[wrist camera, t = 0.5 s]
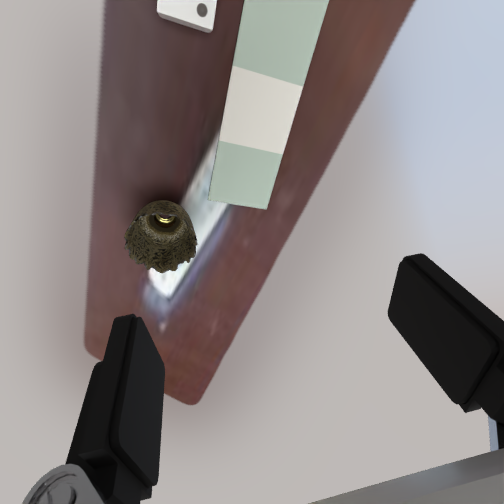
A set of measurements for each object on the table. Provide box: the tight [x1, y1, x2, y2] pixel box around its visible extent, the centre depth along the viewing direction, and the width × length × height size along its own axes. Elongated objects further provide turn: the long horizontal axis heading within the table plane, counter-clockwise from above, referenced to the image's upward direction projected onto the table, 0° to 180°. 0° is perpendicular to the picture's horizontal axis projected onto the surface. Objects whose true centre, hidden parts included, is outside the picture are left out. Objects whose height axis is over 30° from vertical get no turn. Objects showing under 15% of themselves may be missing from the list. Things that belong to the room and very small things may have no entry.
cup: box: [124, 200, 197, 273], centre depth 34 cm, size 8×7×8 cm
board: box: [208, 0, 329, 209], centre depth 31 cm, size 30×8×1 cm, turn 166°
